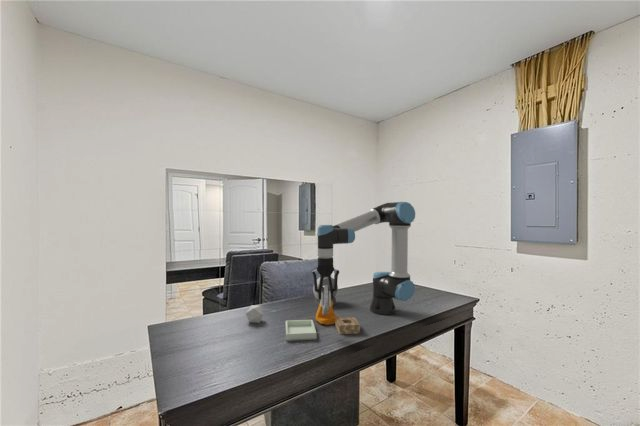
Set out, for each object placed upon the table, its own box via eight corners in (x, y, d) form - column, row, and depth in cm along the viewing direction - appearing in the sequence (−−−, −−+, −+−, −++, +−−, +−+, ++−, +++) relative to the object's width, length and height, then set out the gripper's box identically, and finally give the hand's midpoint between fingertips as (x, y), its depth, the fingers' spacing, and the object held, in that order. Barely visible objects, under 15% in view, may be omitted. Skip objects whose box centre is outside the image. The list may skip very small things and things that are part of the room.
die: (266, 320, 148) (258, 303, 151) (267, 317, 140) (259, 299, 144) (251, 328, 144) (243, 310, 148) (251, 325, 137) (243, 307, 140)
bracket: (321, 326, 140) (322, 302, 140) (315, 321, 146) (315, 298, 146) (339, 322, 145) (340, 299, 145) (332, 318, 151) (332, 296, 151)
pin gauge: (328, 311, 133) (328, 285, 133) (329, 314, 130) (329, 286, 130) (321, 312, 133) (321, 285, 133) (322, 314, 130) (322, 287, 130)
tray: (312, 325, 140) (312, 319, 140) (316, 339, 124) (316, 332, 124) (285, 326, 138) (285, 320, 138) (286, 340, 122) (286, 334, 122)
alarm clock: (331, 299, 185) (331, 272, 186) (340, 303, 177) (340, 275, 177) (310, 303, 177) (311, 274, 177) (318, 307, 168) (319, 277, 168)
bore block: (354, 325, 141) (354, 317, 142) (359, 333, 132) (360, 324, 132) (335, 325, 140) (335, 318, 140) (339, 334, 130) (339, 325, 130)
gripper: (340, 255, 137) (340, 302, 136) (307, 256, 134) (308, 304, 134) (343, 257, 129) (343, 307, 129) (309, 258, 127) (309, 309, 127)
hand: (325, 305), depth 132 cm, fingers closed on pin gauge, 3 cm apart
